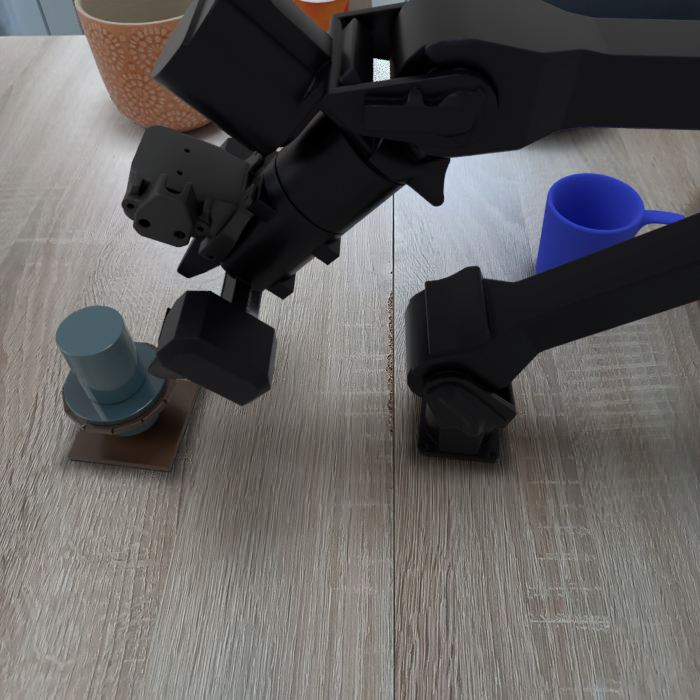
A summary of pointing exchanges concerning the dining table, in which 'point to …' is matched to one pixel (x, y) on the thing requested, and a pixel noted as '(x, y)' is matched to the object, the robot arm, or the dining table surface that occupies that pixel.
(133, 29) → the planter
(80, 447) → the cup holder
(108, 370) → the blue-grey flanged cylinder
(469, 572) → the dining table surface
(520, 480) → the dining table surface
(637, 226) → the mug
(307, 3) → the paper cup
